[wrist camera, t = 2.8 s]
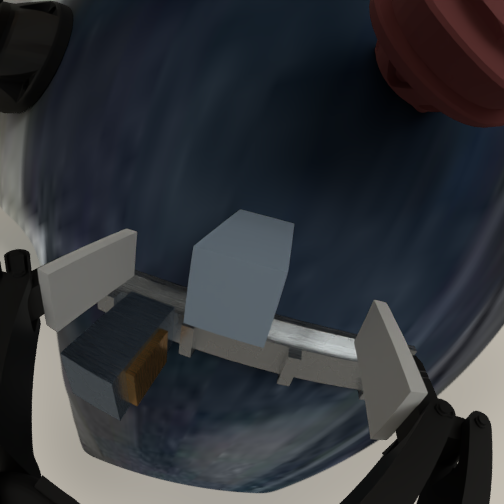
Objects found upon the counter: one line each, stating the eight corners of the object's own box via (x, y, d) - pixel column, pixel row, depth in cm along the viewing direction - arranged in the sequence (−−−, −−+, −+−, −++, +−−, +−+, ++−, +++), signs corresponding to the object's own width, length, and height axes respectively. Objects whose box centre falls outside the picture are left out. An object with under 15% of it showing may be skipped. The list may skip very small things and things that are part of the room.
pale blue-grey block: (240, 209, 20) (193, 245, 11) (294, 223, 19) (287, 272, 11) (228, 266, 21) (182, 332, 13) (278, 280, 21) (260, 356, 12)
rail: (105, 301, 25) (31, 365, 14) (104, 258, 23) (14, 314, 13) (389, 383, 22) (411, 479, 12) (414, 346, 21) (454, 444, 10)
